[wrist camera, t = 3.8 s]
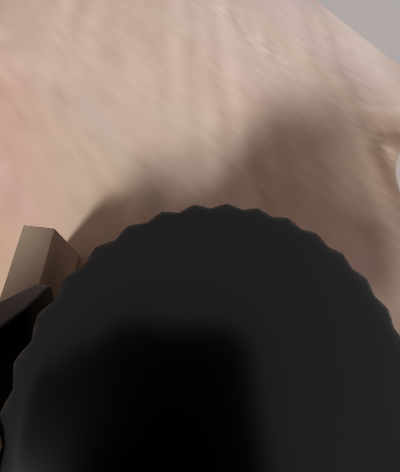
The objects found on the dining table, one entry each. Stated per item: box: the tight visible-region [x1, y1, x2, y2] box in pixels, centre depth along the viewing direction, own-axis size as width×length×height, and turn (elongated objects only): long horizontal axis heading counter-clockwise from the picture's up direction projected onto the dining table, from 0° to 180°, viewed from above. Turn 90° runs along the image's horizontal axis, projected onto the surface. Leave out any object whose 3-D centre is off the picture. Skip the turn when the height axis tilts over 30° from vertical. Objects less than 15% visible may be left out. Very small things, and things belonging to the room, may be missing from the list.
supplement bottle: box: [0, 204, 400, 472], centre depth 8 cm, size 7×7×12 cm
